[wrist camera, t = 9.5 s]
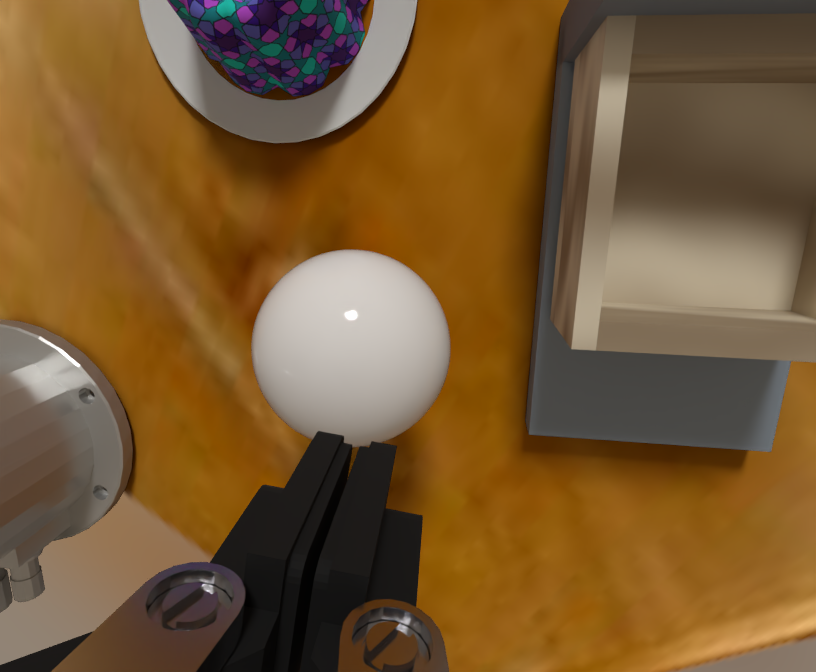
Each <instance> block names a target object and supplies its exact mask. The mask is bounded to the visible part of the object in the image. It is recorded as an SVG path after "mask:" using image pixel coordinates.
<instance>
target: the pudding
mask: <svg viewBox="0 0 816 672" xmlns="http://www.w3.org/2000/svg"><path fill="white" fill-rule="evenodd" d="M368 1H369V0H139V5H140V12H141V16H142V20H143V23H144V27H145V30H146V34H147V37H148V40H149V43H150V45H151V47H152V49H153V52H154V54H155V56H156V58H157V60H158V63H159V65H160V66H161V68H162V69H163V71H164V72H165V74H166V76H167V77H168V79H169V80H170V82H171V83H172V85H173V86H174V87H175V89H176V90H177V91H178V92H179V93H180V94H181V95H182V96H183V98H184V99H185V100H186V101H187V102H188V103H189V104H190V105H191V106H192V107H193V108H194V109H196V110H197V111H198V112H199V113H201V114H202V115H203V116H204V117H205V118H207V119H208V120H209V121H211V122H213V123H214V124H216V125H218V126H220V127H222V128H223V129H225V130H227V131H229V132H231V133H234V134H237V135H240V136H242V137H245V138H248V139H251V140H257V141H264V142H270V143H289V142H300V141H304V140H308V139H313V138H317V137H320V136H323V135H325V134H327V133H329V132H331V131H334V130H336V129H338V128H340V127H342V126H344V125H345V124H346V123H348V122H349V121H351V120H352V119H354V118H355V117H356V116H358V115H359V114H361V113H362V112H363V111H364V110H365V109H366V108H367V107H368V106H369V105H370V104H371V103H372V102H373V101H374V100H375V99H376V98H377V97H378V96H379V95H380V93H381V92H382V90H383V89H384V88H385V86H386V85H387V83H388V82H389V80H390V79H391V78H392V76H393V75H394V73H395V71H396V69H397V67H398V65H399V63H400V61H401V59H402V56H403V54H404V52H405V50H406V48H407V45H408V41H409V38H410V34H411V31H412V28H413V24H414V20H415V13H416V6H417V0H375V1H374V9H373V16H372V20H371V24H370V27H369V31H368V34H367V36H366V39H365V41H364V43H363V45H362V48H361V50H360V46H361V43H362V40H363V37H364V34H365V30H364V26H363V22H362V18H361V13H360V12H361V10H362V9H363V8H364V6H365V5H366V3H367V2H368ZM195 40H196V41H197V42H198V44H199V45H200V46H201V48H202V49H203V50H204V52H205V53H206V54H207V55H208V57H209V58H210V59H213V60H217V61H219V62H220V64H221V65H222V66H223V68H224V69H225V70H226V72H227V73H228V75H229V76H230V77H231V79H232V80H233V81H234V82H235V83H236V84H238V85H239V86H240V87H242V88H243V89H244V90H246V91H247V92H251V93H256V94H261V95H263V94H265V93H267V92H269V91H271V90H273V89H275V88H276V87H280V88H281V89H283V90H284V91H286V92H288V93H289V94H291V95H292V96H300V95H308V94H311V93H312V92H314V91H315V90H317V89H318V88H320V87H322V86H323V84H324V82H325V79H326V77H327V74H328V72H329V69H330V67H335V66H339V65H344V64H348V63H349V62H350V61H351V59H352V58H353V57H354V56H355V55H356V54H357V52H358V51H359V50H360V52H359V53H358V55H357V56H356V58H355V59H354V61H353V62H352V64H351V65H350V66H349V67H348V68H347V70H346V71H345V72H344V73H343V74H342V75H341V76H340V77H339V78H338V79H337V80H335V81H334V82H333V83H331V84H330V85H328V86H327V87H326V88H324V89H322V90H320V91H318V92H316V93H314V94H312V95H310V96H306V97H302V98H298V99H294V100H271V99H263V98H260V97H257V96H254V95H251V94H248V93H246V92H244V91H242V90H240V89H239V88H237V87H235V86H233V85H232V84H230V83H229V82H228V81H227V80H226V79H224V78H223V77H222V76H221V75H219V74H218V72H217V71H216V70H215V69H214V68H213V67H212V66H211V64H210V63H209V62H208V61H207V60H206V58H205V56H204V55H203V53H202V52H201V50H200V48H199V47H198V45H197V43H196V41H195Z"/></svg>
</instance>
